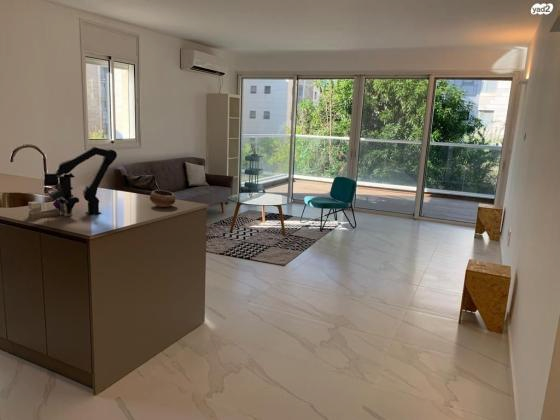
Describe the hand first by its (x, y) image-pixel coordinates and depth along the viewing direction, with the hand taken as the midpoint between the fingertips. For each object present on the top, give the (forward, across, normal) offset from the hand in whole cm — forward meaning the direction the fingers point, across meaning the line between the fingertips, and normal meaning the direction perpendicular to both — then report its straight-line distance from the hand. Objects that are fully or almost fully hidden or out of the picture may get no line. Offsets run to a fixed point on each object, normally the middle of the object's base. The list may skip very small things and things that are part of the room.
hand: (66, 213), depth 245 cm
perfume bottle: (+1, -17, +5) cm, 18 cm away
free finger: (+1, 0, 0) cm, 1 cm away
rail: (+1, -4, -10) cm, 11 cm away
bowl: (+1, +11, +56) cm, 57 cm away
